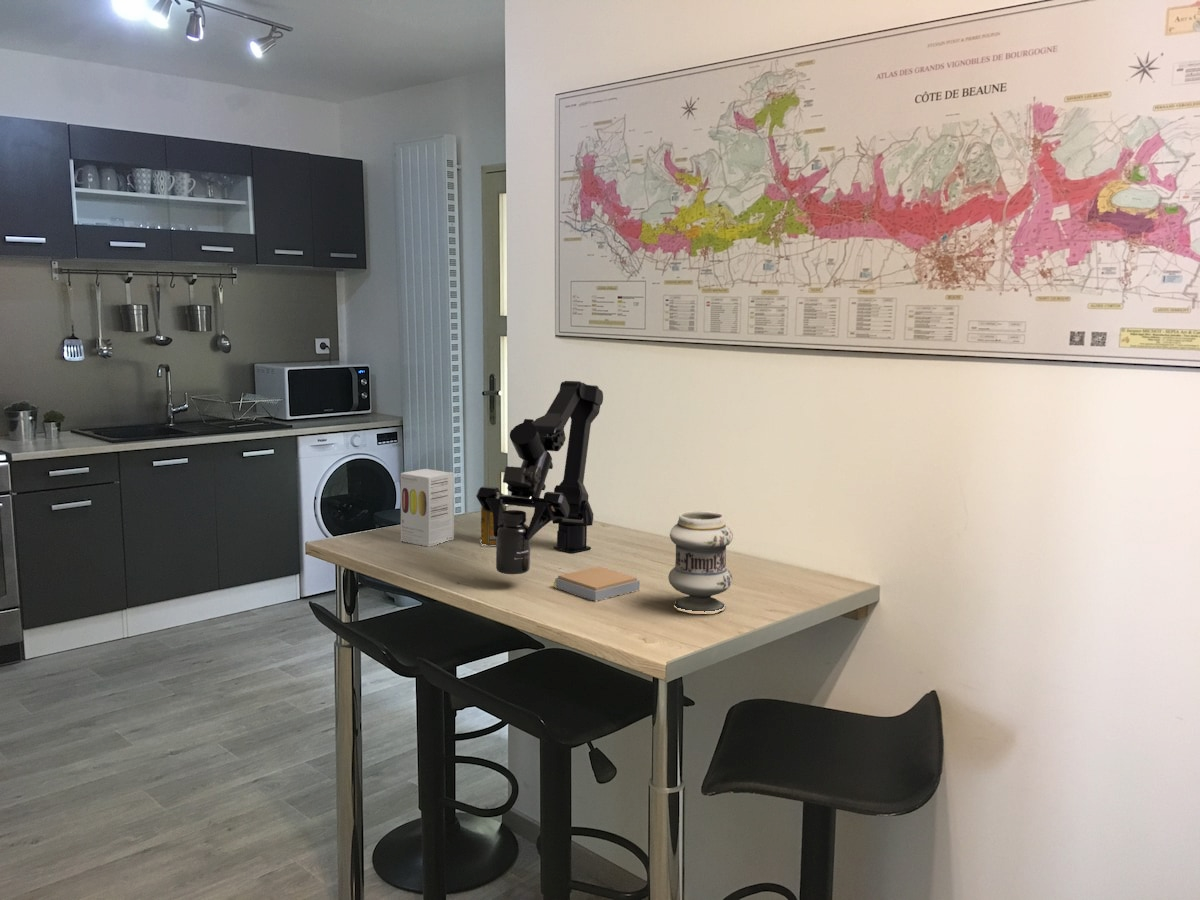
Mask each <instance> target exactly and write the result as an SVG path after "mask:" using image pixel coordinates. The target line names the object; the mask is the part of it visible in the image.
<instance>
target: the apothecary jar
mask: <svg viewBox="0 0 1200 900" xmlns="http://www.w3.org/2000/svg"><path fill="white" fill-rule="evenodd" d="M733 535H734V534H733V532H732V530H731V529H730V528H729V527H728V526H727V525H726V522H725V516H724V514H722V513H720V512H715V511H707V510H693V511H692V510H691V511H690V510H689V511H684V512H681V513H680V514H679V516H678V520H677V523H676V524H674V526H672V528H671V529H670V531H669V537H670V540H671V542H672V543H673V544H674V545H675V566H674V567H672V568H671V570H670V571H669V573H668V576H667V577H668V582H669V584H670V585H671V587H673V589H674V590H675V591H678V592H679V593H681V594H683V595H688V596H684V597H680V598H678V599H676V600H675V601H676V603H675V602H674V604H673V605H675V606H676V607H677V608H681V609H685V610H692V611H704V612H705V611H715V610H719V609H722V608H723V607H724V605H725V604H724V602H722V601H721V600H718V599H717V598H715V597H713V596H716V595H720V594H721V593H723V592H724V593H725V592H726V591H727V590H728V589H730V587H731V586H732V584H733V576H732V573H731V571H730V570H729V569H728V568H727V559H726V558H727V555H726V554H727V546H728V545H730V544H731V542H732V541H733V539H734V536H733Z"/></svg>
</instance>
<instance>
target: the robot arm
mask: <svg viewBox="0 0 1200 900" xmlns="http://www.w3.org/2000/svg"><path fill="white" fill-rule="evenodd" d="M603 400H604V393H603V391H602V390H601V388H600V387H599V386H598V385H596V384H595V385H592V384H586V383H584V382H581V381H580V380H576V381H575V380H564V381H562V382H561V383H560V386H559V390H558V392H557V394H556V396H555V398H554V399H553V401H552V403H551V404H550V406H549V407H548V409H547V411H546V413H545V414H544V415H543V416H539V417H537V418H536V419H535V420H534V419H530V418H524V420H523V422H522V423H519V424H517V425H516V426H514V427H513V428H512V429H511V430H510V433H509V438H510V441H511V443H512V445H513V447H514V449H515V451H516V454H517V455H518V458H520V459H521V460H522V462H521V465H520V467H519V466H505V467H504V473H503V478H502V479H503V480H502V483H504V484H507V488H506V489H507V491H508V492H510V493H511V494H505V493H502V492H501V490H500V489H499V487H495V486H484V485H483V486H481V487H479V489H478V490H477V493H476V495H475V496H476V499H477V500H478V502H479V503H480V507H481V506H482V507H483V509H484V510H485V511H488V512H492V513H493V533H494V536H495V537H497V528H498V527H499V526H500V525H501V524H503V522H502V521H501V519H502V512H503V511H505V510H504V507H505V505H506V506H507V505H508V506H516V507H524V508H534V510H533V511H534V512H533V515H532V518H531V520H530V523H529V525H528V530H527V534H526V539H527V540H530V541H531V539H532V538H533V537H534V536H535V535H536V534H537V533H538V532H539V531H541V530H542V528H543V527H545V526H547V524H549V523H550V522H552V524H554V525H555V524H557V525H558V530H557V531H556V532H557V533H556V534H557V535H556V543H557V544H556V545H553V549H556V550H560V551H563V552H566V553H569V554H573V553H579V552H583V551H587V550H591V549H592V547H591V546H589V545H587V534H588V533H587V532H588V530H587V528H588V527H590V526H593V521H594V512H593V510H592V507H591V505H590V502H589V493H588V491H587V489H586V487H585V485H584V480H585V471H586V463H587V457H588V449H589V441H590V434H591V425H592V423H593V421H594V420H595V419H596V418H597V416H598V415H600V414H599V413H600V411H601V406H602V404H603V402H604V401H603ZM569 419H570V420H571V421H570V428H569V435H568V441H567V442H568V443H567V448H566V457H565V465H564V473H563V479H562V481H561V482H560V483H559V484H557V485H555V487H554V489H553V491H546V492H544V494H543V498H542V497H541V494H542V492H543V491H545V490H546V487H547V486H546V484H545V482H546V479H547V476H548V473H549V470H552V469H554V464H553V458H552V455H551V453H550V452H559V451H560V450H561V449H562V447H563V446H564V444H565V442H566V438H567V437H566V433H565V427H566V425H567V423H568V422H569ZM501 493H502V494H501Z"/></svg>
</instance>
